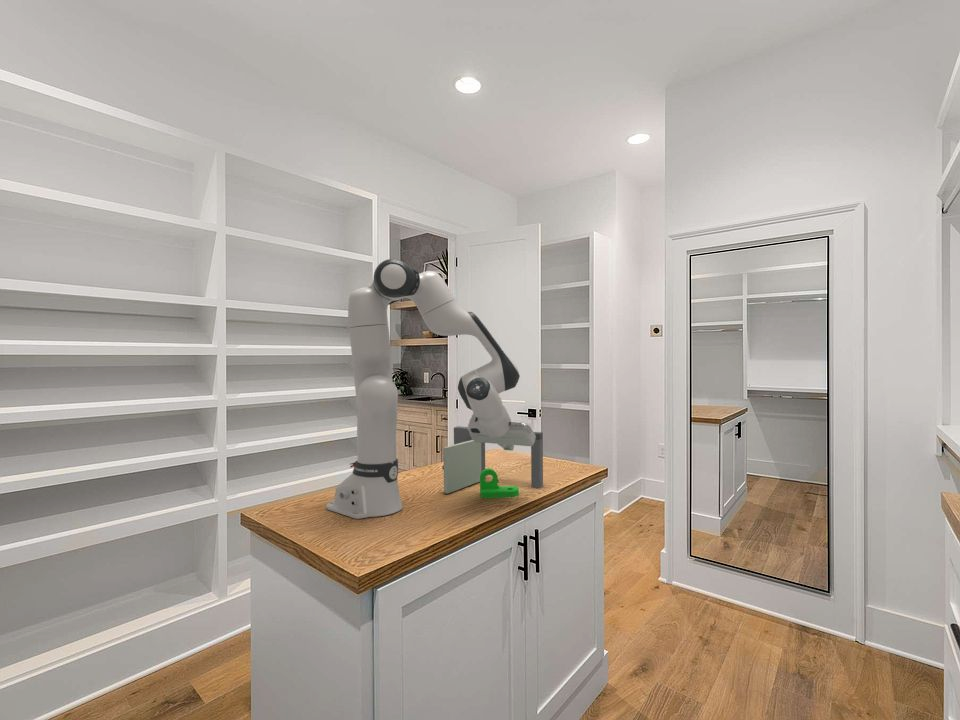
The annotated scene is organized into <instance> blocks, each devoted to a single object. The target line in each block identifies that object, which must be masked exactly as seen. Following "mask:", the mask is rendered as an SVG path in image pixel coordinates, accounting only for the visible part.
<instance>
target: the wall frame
mask: <svg viewBox="0 0 960 720" xmlns="http://www.w3.org/2000/svg"><path fill="white" fill-rule="evenodd" d="M467 428H468V426H454V427H453V445H454V444H458V443H462V442H466V441H470V440H473V439H472V438H471V436H470V433H469V431H468V429H467ZM533 432H534V433H535V436H536V438H535V442H534V444H533V446H530V449H531V450H530V457H531V458H530V463H531V465H530V466H531V467H530V469H531V471H530V473H531V474H530V475H531V476H530V477H531V478H530V481H531V482H530V483H531V488H532V487H533V489H539V488H540V489H542V488H543V487H544V446H543V445H544V439H543V438H544V436H543V432H541V431H533ZM484 469H486V443H482V442H481V472H482V471H483V470H484ZM542 486H543V487H542Z"/></svg>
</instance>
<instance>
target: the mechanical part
mask: <svg viewBox="0 0 960 720" xmlns="http://www.w3.org/2000/svg"><path fill="white" fill-rule="evenodd" d="M487 476H492V479H491V480H490V481H486V477H487ZM498 479H499V476H498V474H497V472H496V471H495V470H494V469H492V468H485V469H484V470H483V471H482V472H481V474H480V482H479V493H480V498H481V499H502V497H511V498H516V497H515V496H517V497H518V496H519V495H520V493H519V491H520V489H519V487H518V485H510V486H509V485H508V486H507V485H506V486H505V485H502V486H499V481H498Z"/></svg>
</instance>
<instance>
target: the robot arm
mask: <svg viewBox="0 0 960 720" xmlns="http://www.w3.org/2000/svg"><path fill="white" fill-rule="evenodd" d="M373 272H374V273H373V280H372V283H371V284H370V285H369V286H364V287H359V288H357V289H355V290H353V291H351V293H350V294H349V298H348V303H347V304H348V306H347V307H348V308H347V318H348V319H347V320H348V321H347V322H348V330H349V331H348V332H349V340H350V341H349V342H350V348H351V349H350V351H351V357H352V359H351V360H352V369H353V370H352V371H353V377H354V379H353V380H354V389H355V397H356V400H357V401H356V406H357V408H356V409H357V410H356V411H357V413H356V414H357V417H356V427H357V428H356V447H357V448H356V449H357V453H356V454H357V455H356V456H357V459H356V461H354V462H351V463H349V465H350V466H349V468H353V470H352V473H351V474H350V475H348V477H346V478H345V479H344V480H342V482H340V483H338V485H337V486H336V488H335V491H334V499H332V500H330V501H329V502H328V503H327V504H326V506H325V509H326V510H329V511H331V512H334V513H337V514H340V515H343V516H347V517H349V518H352V519H355V520H358V519H365V518H375V517H383V516H387V515H388V516H389V515H392V514H396V513H398V512H400V511H401V510H402V509H403V507H404V506H403V502H402V499H401V495H400V489H399V482H398V476H399V475H398V474H399V460H398V458H397V427H398V425H397V424H398V409H399V408H398V407H399V406H398V405H399V404H398V403H399V402H398V399H399V397H398V396H399V392H398V388H397V386H396V384H395V383H394V381H393V370H392V368H393V367H392V347H391V339H390V331H389V330H390V329H389V321H388V306H389V305H392V304H393V303H397V302H399V301H402V300H403V299H405V298H406V299H408V300H411V301H412V302H413V303H414V305H415V306H416V308H417V309H418V312H419V314H420V316H421V318H422V320H423V321H424V323H425V325H426V326H427V328H428V329H429V331H430V332H431V333H433V334H435V335H438V336H442V337H451V336H461V335H463V336H464V335H465V336H467V335H468V336H473V337H474V338H476V339H477V340H478V341H479V342H480V344H481V345H482V346H483V348H484V350H486V352H487V354H488V355H489V356H490V357H491V361H490V362H488V363H486V364H484V365H481V366H480V367H477V368H476V369H473V370H471V371H469V372H467V373H465V374H464V375H462V376H460V378H459V380H458V384H457V390H458V393H459V395H460V397H461V399H462V401H463V403H464V404H465V406H466V409H469V410H471V411H472V412H473V413H472V415H471V417H470V419H469V422H468V425H467V427H468V428H467V429H468V431H469V433H470V436H471V438H472V439H473V440H474V441H475V442H482V443H485V444H496V445H497V446H500V447H501V448H502V449H503V451H511V452H513V451H514V448H515V446H519V447H520V446H523V447H531V446H533V444H534V442H535V438H536V436H535V433H534V432H535V431H534V430H533V429H532V427H531V425H529V424H527V423H525V422H514V421H513V422H512V419H511V417H510V414H509V413H508V410H507V409H506V407H505V406H504V405H503V400H502V398H501V396H500V394H501V393H503V392H506V391H509V390H511V389H514V388H515V387H517V385H518V382H519V380H520V372H519V368H518V367H517V366H516V364H515V363H514V361H513V360H512V359H511V358H509V356H508V355H507V354H506V352H504V350H503V349H502V347H501V346H500V344H499V343H498V342H497V341H496V339H495V338H494V337H493V335H492V333H491V332H490V331H489V330H488V327H486V326H485V324H484V323H483V321H481V319H480V318H479V317H478V316H477V315H476V313H474V312H472V311H467V310H465V309H464V308H462V307H461V306H460V305H459V303H458V302H457V300H456V299H455V296H454V294H453V293H452V291H451V290H450V288H449V286H448V285H447V283H446V281H445V280H444V279H443V278H442V276H441V275H440V274H439V273H438V272H436V271H433V270H427V271H422V272H421V273H419V272H418V271H417V270H416V269H414V268H413V267H412V266H410V265H409V264H407V263H406V262H404V261H403V260H400V259H397V258H389V259H385V260H383V261H381V262H380V263H379V264H378V265H377V266H376V268H375V270H374V271H373Z"/></svg>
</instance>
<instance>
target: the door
mask: <svg viewBox="0 0 960 720" xmlns="http://www.w3.org/2000/svg"><path fill="white" fill-rule="evenodd" d="M442 449H443V452H442V454H443V460H442V461H443V465H442V470H443V494H447V495H448V494H450V493H452V492H453V493H454V492H456V491H458V490H461V489H463V488H466V487H469V486H471V485H473V484H477V483H480V474H481V442H475V441H474V440H470V441H466V442H462V443H458V444H454V443H453V444H451V445H448V446H447V445H446V446H443V448H442Z"/></svg>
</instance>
